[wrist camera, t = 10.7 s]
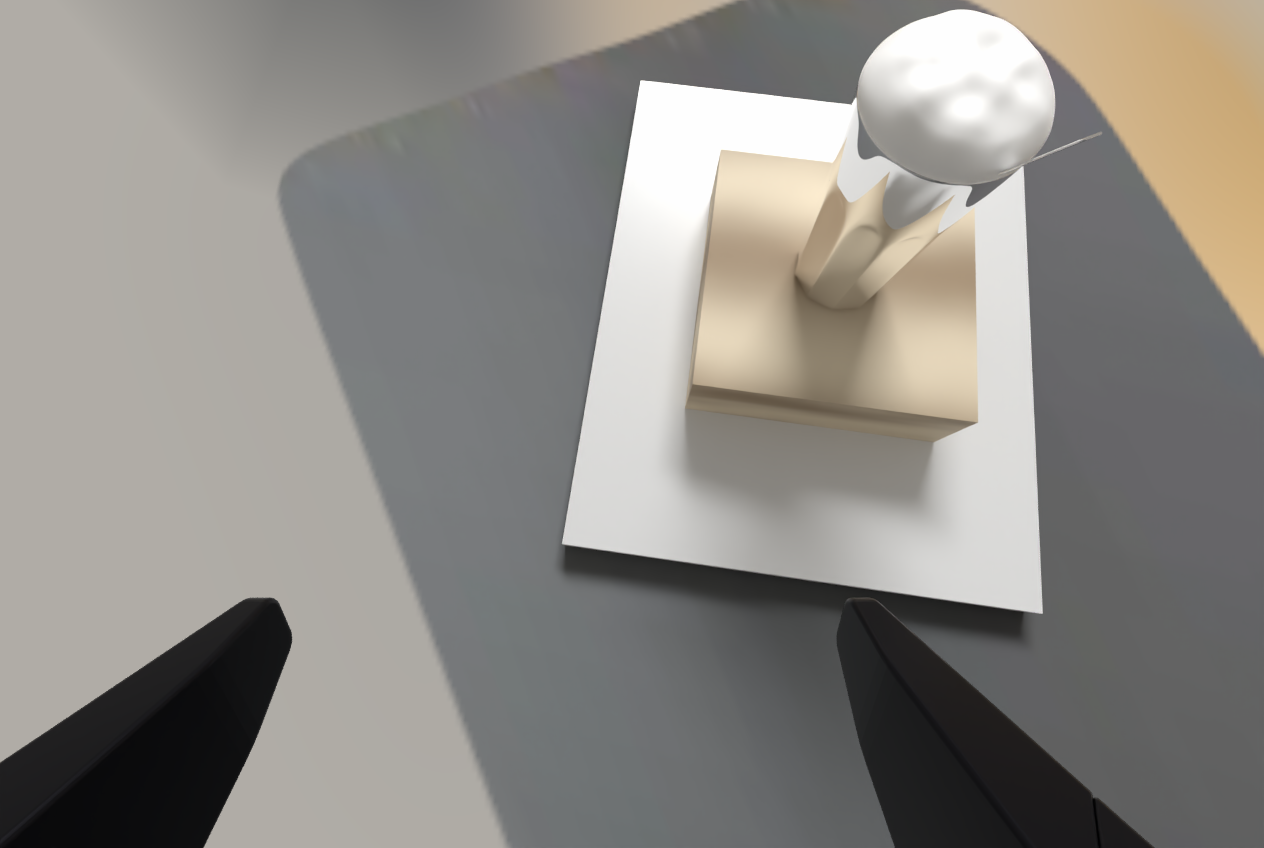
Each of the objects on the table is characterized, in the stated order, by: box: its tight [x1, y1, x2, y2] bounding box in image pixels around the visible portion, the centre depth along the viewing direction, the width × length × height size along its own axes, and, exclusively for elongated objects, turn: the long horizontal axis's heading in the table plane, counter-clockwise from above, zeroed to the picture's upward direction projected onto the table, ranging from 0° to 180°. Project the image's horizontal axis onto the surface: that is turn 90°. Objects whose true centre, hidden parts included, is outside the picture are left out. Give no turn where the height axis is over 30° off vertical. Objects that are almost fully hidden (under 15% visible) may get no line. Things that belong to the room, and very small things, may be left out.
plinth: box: [685, 149, 978, 442], centre depth 23 cm, size 10×10×3 cm
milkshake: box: [795, 10, 1102, 310], centre depth 16 cm, size 4×5×10 cm
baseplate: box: [562, 81, 1043, 614], centre depth 25 cm, size 22×18×1 cm
